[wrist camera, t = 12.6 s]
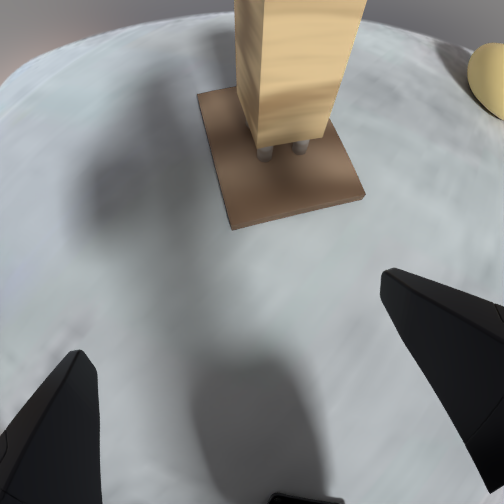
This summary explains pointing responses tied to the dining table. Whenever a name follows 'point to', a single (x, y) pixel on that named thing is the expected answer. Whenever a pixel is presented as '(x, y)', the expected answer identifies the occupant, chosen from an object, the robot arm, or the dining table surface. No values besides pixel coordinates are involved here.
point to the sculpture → (488, 77)
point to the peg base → (273, 167)
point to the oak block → (292, 64)
